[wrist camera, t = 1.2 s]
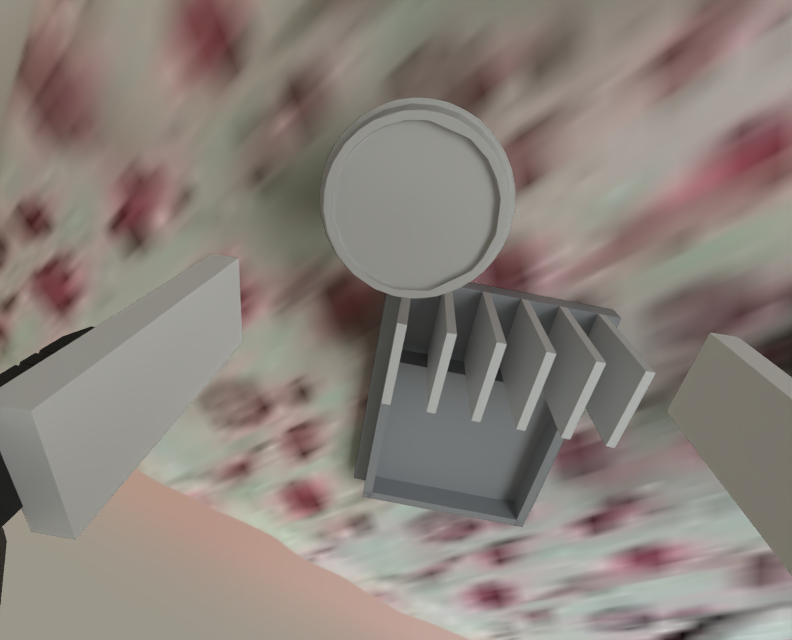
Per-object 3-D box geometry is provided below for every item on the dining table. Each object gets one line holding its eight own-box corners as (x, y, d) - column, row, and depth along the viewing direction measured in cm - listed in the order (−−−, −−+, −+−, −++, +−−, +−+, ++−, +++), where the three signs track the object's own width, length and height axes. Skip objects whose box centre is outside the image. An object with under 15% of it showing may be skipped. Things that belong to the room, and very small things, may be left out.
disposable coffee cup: (357, 241, 32) (319, 302, 22) (354, 103, 28) (305, 94, 17) (481, 245, 32) (505, 311, 21) (496, 105, 27) (537, 98, 17)
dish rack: (527, 499, 43) (550, 593, 34) (356, 466, 43) (337, 553, 34) (613, 309, 33) (675, 376, 25) (391, 267, 33) (377, 319, 24)
